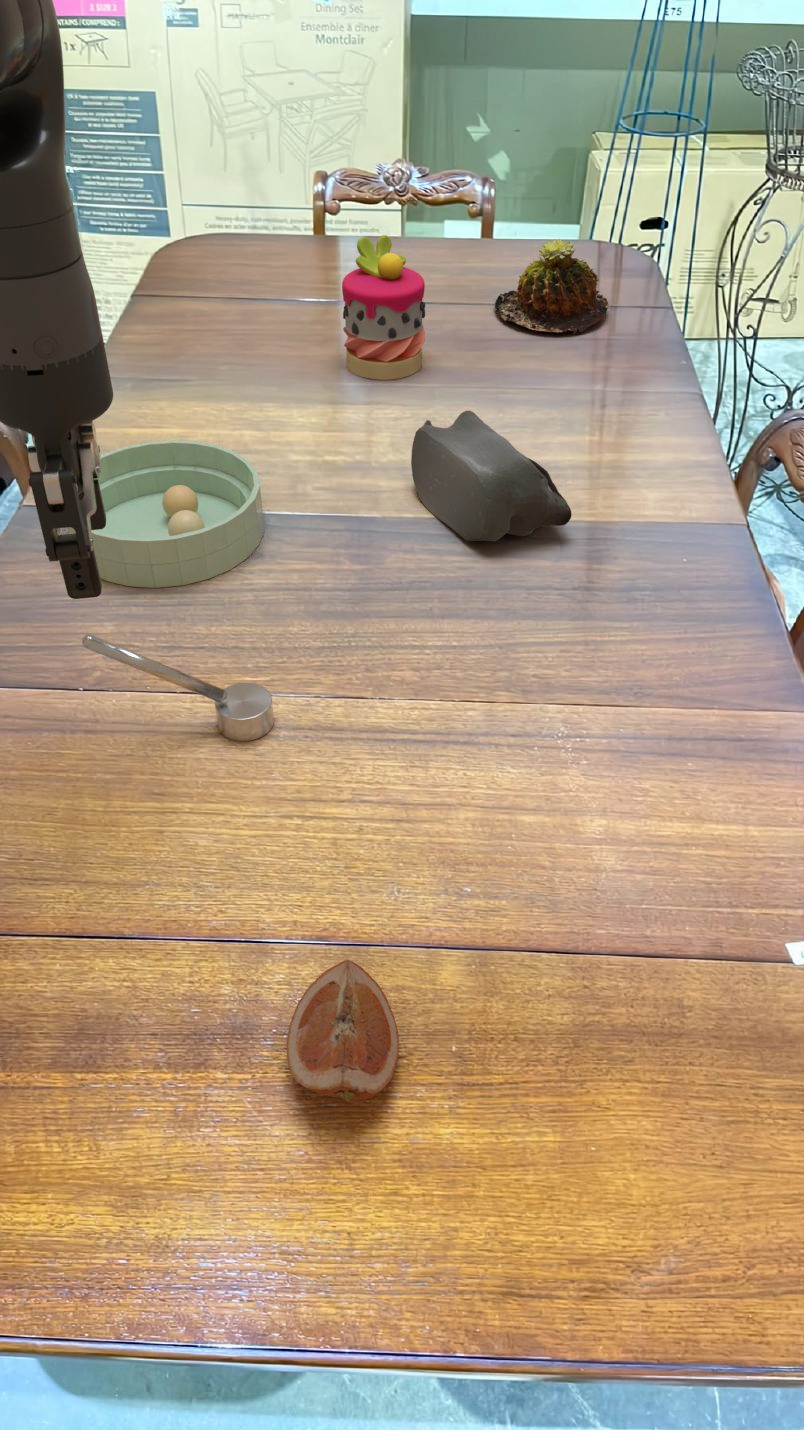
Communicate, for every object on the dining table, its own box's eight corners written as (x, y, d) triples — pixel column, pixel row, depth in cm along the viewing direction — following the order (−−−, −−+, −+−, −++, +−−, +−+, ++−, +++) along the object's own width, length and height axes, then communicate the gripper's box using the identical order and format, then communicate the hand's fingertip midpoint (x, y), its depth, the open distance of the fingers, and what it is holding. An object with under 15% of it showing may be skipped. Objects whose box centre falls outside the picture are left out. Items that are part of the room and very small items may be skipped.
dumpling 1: (165, 529, 109) (160, 498, 107) (165, 510, 112) (159, 479, 110) (201, 526, 110) (196, 495, 107) (200, 507, 112) (195, 477, 110)
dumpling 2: (170, 555, 106) (165, 524, 103) (170, 536, 108) (165, 504, 106) (207, 552, 106) (203, 520, 104) (206, 533, 109) (202, 501, 106)
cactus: (493, 289, 160) (497, 220, 154) (600, 291, 160) (609, 222, 153) (495, 336, 147) (500, 263, 141) (613, 338, 147) (622, 265, 140)
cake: (441, 362, 141) (444, 243, 131) (384, 388, 135) (383, 266, 125) (383, 340, 146) (382, 224, 136) (327, 364, 141) (321, 245, 131)
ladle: (271, 701, 91) (261, 600, 84) (276, 738, 87) (265, 636, 80) (107, 719, 89) (82, 618, 82) (105, 757, 86) (79, 655, 79)
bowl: (66, 603, 101) (52, 549, 97) (77, 499, 115) (66, 447, 111) (271, 584, 104) (266, 530, 100) (257, 484, 118) (252, 433, 114)
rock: (584, 537, 110) (592, 467, 105) (490, 568, 106) (495, 496, 100) (486, 460, 122) (490, 394, 117) (399, 485, 118) (399, 418, 112)
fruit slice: (397, 1129, 63) (397, 1085, 59) (281, 1127, 63) (275, 1082, 59) (400, 1004, 69) (400, 958, 66) (295, 1002, 69) (289, 956, 66)
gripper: (-13, 294, 70) (42, 512, 81) (-44, 390, 59) (24, 626, 70) (105, 287, 71) (144, 503, 82) (96, 381, 60) (142, 615, 71)
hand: (89, 560), depth 76 cm, fingers open, 8 cm apart
